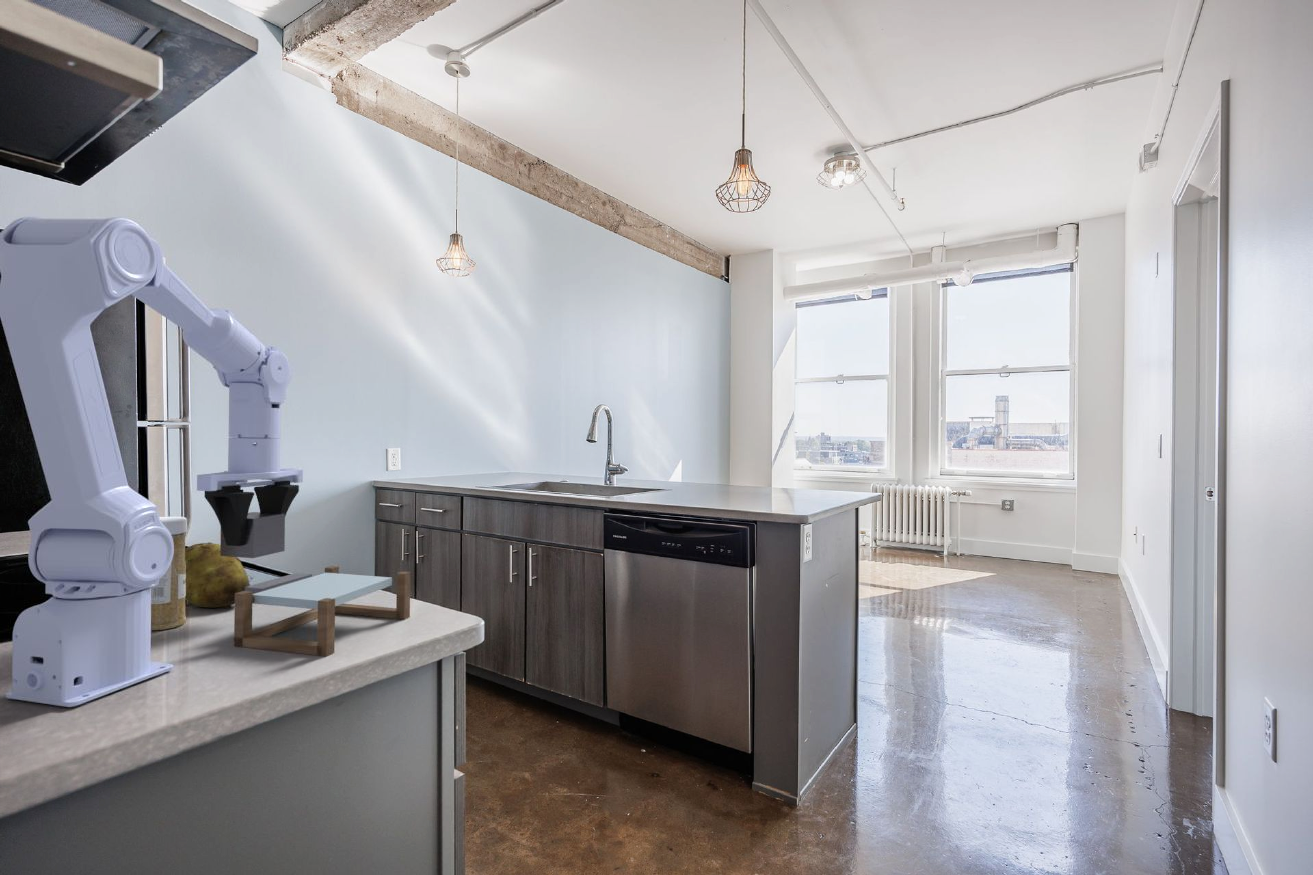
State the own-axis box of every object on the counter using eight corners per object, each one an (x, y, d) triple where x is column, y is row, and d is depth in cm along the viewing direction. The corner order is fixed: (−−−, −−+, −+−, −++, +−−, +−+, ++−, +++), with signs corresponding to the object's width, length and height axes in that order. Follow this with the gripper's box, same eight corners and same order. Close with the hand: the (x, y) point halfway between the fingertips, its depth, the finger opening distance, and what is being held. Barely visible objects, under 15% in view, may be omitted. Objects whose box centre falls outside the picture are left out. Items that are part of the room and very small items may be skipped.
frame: (326, 656, 69) (327, 601, 69) (234, 645, 72) (234, 593, 72) (409, 616, 84) (410, 572, 84) (330, 609, 87) (331, 566, 86)
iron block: (253, 558, 80) (253, 518, 79) (220, 555, 81) (220, 516, 81) (284, 550, 84) (284, 513, 84) (253, 548, 85) (253, 511, 85)
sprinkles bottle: (195, 622, 80) (196, 516, 80) (159, 633, 76) (160, 521, 75) (166, 619, 81) (168, 514, 81) (129, 629, 77) (131, 519, 77)
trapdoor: (325, 611, 71) (325, 599, 71) (230, 602, 74) (230, 591, 74) (392, 586, 83) (392, 576, 83) (307, 579, 85) (308, 569, 85)
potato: (176, 618, 81) (176, 556, 81) (170, 597, 91) (171, 542, 91) (251, 607, 87) (252, 549, 87) (239, 588, 97) (239, 536, 96)
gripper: (273, 437, 90) (272, 531, 90) (176, 437, 76) (175, 549, 76) (316, 438, 89) (314, 534, 89) (225, 438, 75) (223, 553, 75)
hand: (253, 541), depth 82 cm, fingers closed on iron block, 5 cm apart
